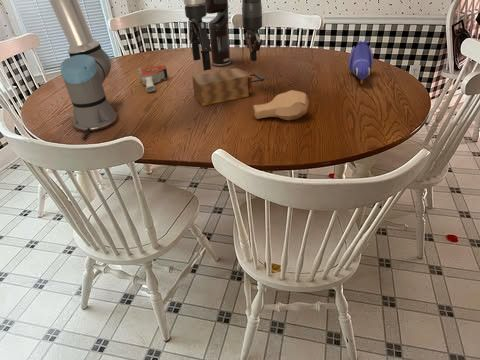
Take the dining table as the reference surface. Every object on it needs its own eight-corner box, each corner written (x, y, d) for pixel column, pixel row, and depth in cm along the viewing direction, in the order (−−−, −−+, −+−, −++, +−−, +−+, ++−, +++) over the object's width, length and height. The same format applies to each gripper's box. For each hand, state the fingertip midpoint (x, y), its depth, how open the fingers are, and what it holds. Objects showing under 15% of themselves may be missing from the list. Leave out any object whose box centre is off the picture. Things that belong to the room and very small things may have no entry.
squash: (312, 121, 125) (311, 99, 119) (256, 131, 127) (252, 110, 121) (306, 103, 133) (305, 82, 126) (254, 113, 134) (250, 93, 128)
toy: (346, 78, 167) (350, 87, 144) (349, 39, 160) (352, 43, 138) (368, 77, 164) (375, 86, 142) (372, 38, 158) (379, 42, 135)
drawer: (255, 82, 155) (255, 67, 151) (265, 89, 148) (264, 74, 144) (202, 92, 149) (200, 77, 145) (209, 101, 141) (207, 85, 137)
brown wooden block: (238, 87, 154) (237, 67, 149) (248, 96, 146) (248, 75, 141) (194, 96, 149) (191, 76, 144) (202, 105, 140) (199, 85, 135)
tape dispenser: (151, 97, 154) (180, 78, 166) (148, 85, 150) (178, 68, 163) (122, 88, 161) (152, 71, 174) (119, 77, 158) (150, 61, 170)
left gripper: (216, 8, 116) (221, 72, 129) (195, -2, 135) (201, 54, 148) (194, 11, 114) (202, 76, 127) (176, 0, 133) (184, 57, 146)
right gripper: (268, 16, 130) (268, 63, 140) (254, 10, 140) (255, 54, 150) (249, 19, 128) (251, 66, 138) (236, 12, 138) (238, 57, 148)
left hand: (202, 64), depth 137 cm, fingers open, 13 cm apart
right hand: (253, 60), depth 144 cm, fingers closed
